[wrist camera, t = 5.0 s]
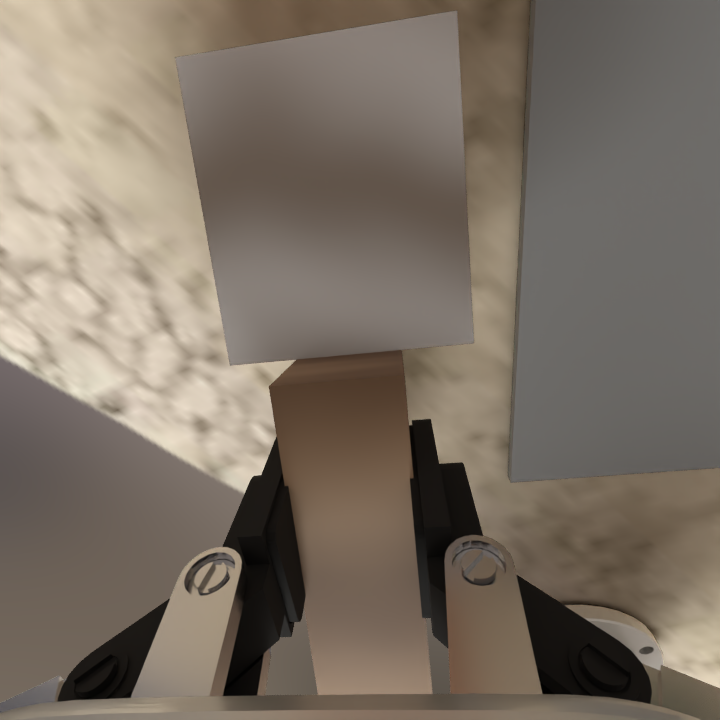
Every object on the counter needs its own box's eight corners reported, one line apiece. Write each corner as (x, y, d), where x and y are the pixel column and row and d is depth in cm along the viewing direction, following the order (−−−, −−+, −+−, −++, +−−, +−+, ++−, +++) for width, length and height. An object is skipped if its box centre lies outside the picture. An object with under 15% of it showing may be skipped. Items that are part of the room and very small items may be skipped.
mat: (753, 458, 21) (761, 464, 20) (507, 475, 22) (510, 482, 21) (1050, -318, 10) (1081, -339, 10) (540, -214, 11) (547, -229, 11)
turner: (486, 670, 15) (515, 796, 11) (294, 674, 15) (265, 793, 12) (452, 29, 11) (482, -90, 7) (190, 71, 11) (98, -17, 8)
